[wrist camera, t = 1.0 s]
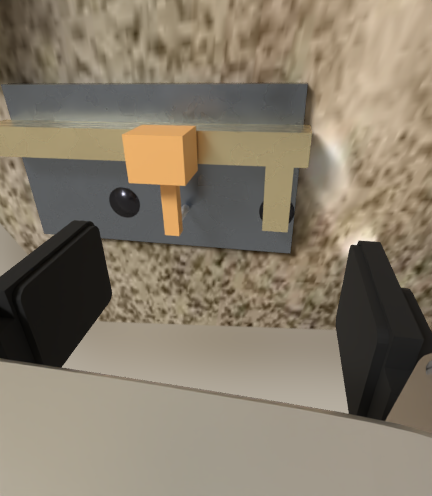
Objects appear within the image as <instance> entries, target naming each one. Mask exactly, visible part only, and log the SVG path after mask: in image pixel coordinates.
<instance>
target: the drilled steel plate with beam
mask: <svg viewBox="0 0 432 496" xmlns="http://www.w3.org/2000/svg"><path fill="white" fill-rule="evenodd" d="M1 86H2V90H3V93H4V97H5V100H6V104H7V107H8V110H9V114H10V117H11V120H3V121H0V156H6V157H22V159H23V162H24V165H25V169H26V172H27V176H28V179H29V183H30V186H31V189H32V193H33V196H34V200H35V203H36V207H37V210H38V213H39V217H40V220H41V224H42V227H43V231H44V234H56V233H58V232H59V231H60V230H61V229H63V228H64V227H65V226H67V225H68V224H69V223H71V222H72V221H74V220H79V221H91V222H93V223H94V225H95V226H97V227H98V228H99V231H100V236H101V238H105V239H118V240H130V241H143V242H155V243H167V244H180V245H192V246H205V247H217V248H229V249H242V250H254V251H267V252H279V253H290V251H291V242H292V232H293V222H294V212H295V203H296V193H297V183H298V174H299V168H308V165H309V156H310V148H311V139H312V130H311V126H310V125H304V115H305V105H306V96H307V86H308V83H60V84H2V85H1ZM140 125H185V126H196V140H197V164H198V171H197V172H196V173H195V174H194V176H193V177H192V178H191V180H190V181H189V182H188V183H187V185H186V186H180V197H181V207H182V206H183V205H188V206H189V208H190V209H189V211H188V213H187V214H186V216H185V217H184V219H183V220H182V225H183V231H182V233H181V234H180V236H171V235H165V230H164V220H163V210H162V200H161V190H160V185H157V184H137V183H129V182H128V175H127V168H126V161H125V154H124V147H123V140H122V134H124V133H126V132H128V131H130V130H132V129H134V128H136V127H138V126H140Z"/></svg>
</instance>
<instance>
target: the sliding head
mask: <svg viewBox="0 0 432 496" xmlns="http://www.w3.org/2000/svg"><path fill="white" fill-rule="evenodd" d="M122 140H123V147H124V154H125V161H126V168H127V175H128V182H129V183H137V184H157V185H160V190H161V200H162V210H163V220H164V230H165V235H171V236H180V234H181V233H182V231H183V225H182V220H183V219H184V217H185V216H186V214H187V213H188V211H189V209H190V208H189V206H188V205H183V206H182V207H181V197H180V186H186V185H187V183H188V182H189V181H190V180H191V178H192V177H193V176H194V174H195V173H196V172H197V171H198V164H197V140H196V126H185V125H140V126H138V127H136V128H134V129H132V130H130V131H128V132H126V133H124V134H122Z"/></svg>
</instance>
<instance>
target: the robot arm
mask: <svg viewBox="0 0 432 496" xmlns="http://www.w3.org/2000/svg"><path fill="white" fill-rule="evenodd" d="M111 296H112V290H111V285H110V280H109V275H108V270H107V265H106V260H105V255H104V251H103V246H102V241H101V236H100V231H99V228H98V227H97V226H95V225H94V223H93V222H91V221H79V220H74V221H72V222H71V223H69V224H68V225H67V226H65V227H64V228H63V229H61V230H60V231H59V232H58V233H56V234H55V235H54V236H52V237H51V238H50V239H49V240H47V241H46V242H45V243H43V244H42V245H41V246H39V247H38V248H37V249H36V250H34V251H33V252H32V253H30V254H29V255H28V256H26V257H25V258H24V259H23V260H21V261H20V262H19V263H17V264H16V265H15V266H13V267H12V268H11V269H10V270H8V271H7V272H6V273H4V274H3V275H2V276H1V277H0V496H432V332H431V330H430V328H429V326H428V324H427V322H426V320H425V318H424V316H423V314H422V312H421V309H420V307H419V305H418V303H417V301H416V299H415V297H414V295H413V293H412V292H411V290H410V289H407V288H401V287H400V285H399V283H398V280H397V278H396V276H395V274H394V272H393V269H392V267H391V265H390V263H389V260H388V258H387V256H386V254H385V251H384V249H383V247H382V245H381V243H380V242H370V241H359V242H358V244H357V245H351V246H350V250H349V255H348V260H347V265H346V270H345V275H344V280H343V285H342V290H341V295H340V300H339V305H338V310H337V316H336V331H337V337H338V344H339V350H340V357H341V364H342V371H343V377H344V383H345V391H346V397H347V403H348V410H349V414H346V413H341V412H336V411H330V410H324V409H318V408H312V407H305V406H300V405H294V404H289V403H283V402H276V401H269V400H264V399H258V398H252V397H245V396H239V395H233V394H226V393H221V392H214V391H208V390H202V389H196V388H190V387H183V386H177V385H171V384H163V383H157V382H151V381H145V380H138V379H132V378H126V377H119V376H113V375H106V374H100V373H93V372H87V371H80V370H73V369H67V368H61V367H62V366H63V365H64V363H65V362H66V360H67V359H68V358H69V356H70V355H71V354H72V352H73V351H74V350H75V348H76V347H77V346H78V344H79V343H80V341H81V340H82V339H83V337H84V336H85V335H86V333H87V332H88V330H89V329H90V328H91V326H92V325H93V324H94V322H95V321H96V320H97V318H98V317H99V316H100V314H101V313H102V311H103V310H104V309H105V307H106V306H107V305H108V303H109V302H110V300H111Z"/></svg>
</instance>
